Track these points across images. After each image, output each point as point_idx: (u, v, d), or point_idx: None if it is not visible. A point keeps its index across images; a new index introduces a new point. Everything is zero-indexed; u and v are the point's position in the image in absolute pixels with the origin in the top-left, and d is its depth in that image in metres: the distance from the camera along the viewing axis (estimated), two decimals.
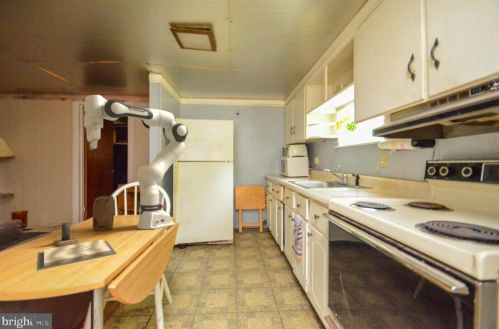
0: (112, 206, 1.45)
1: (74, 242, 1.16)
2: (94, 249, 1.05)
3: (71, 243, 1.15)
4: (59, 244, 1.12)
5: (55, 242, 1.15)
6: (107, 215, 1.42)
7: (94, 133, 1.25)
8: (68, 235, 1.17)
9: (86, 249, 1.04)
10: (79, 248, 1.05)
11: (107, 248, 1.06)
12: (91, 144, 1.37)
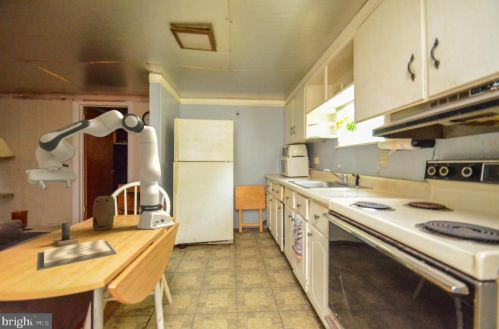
0: (112, 206, 1.45)
1: (74, 242, 1.16)
2: (94, 249, 1.05)
3: (71, 243, 1.15)
4: (59, 244, 1.12)
5: (55, 242, 1.15)
6: (107, 215, 1.42)
7: (28, 179, 1.19)
8: (68, 235, 1.17)
9: (86, 249, 1.04)
10: (79, 248, 1.05)
11: (107, 248, 1.06)
12: (67, 184, 1.30)
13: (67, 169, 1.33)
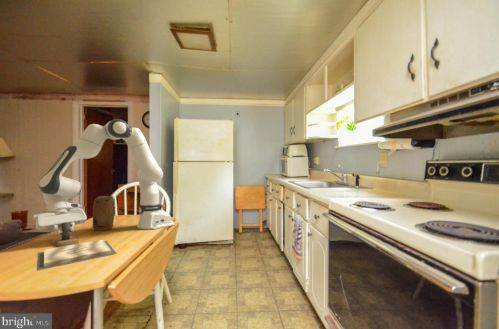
0: (112, 206, 1.45)
1: (74, 242, 1.16)
2: (94, 249, 1.05)
3: (71, 243, 1.15)
4: (59, 244, 1.12)
5: (55, 242, 1.15)
6: (107, 215, 1.42)
7: (36, 225, 1.12)
8: (68, 235, 1.17)
9: (86, 249, 1.04)
10: (79, 248, 1.05)
11: (107, 248, 1.06)
12: (71, 227, 1.20)
13: (76, 209, 1.25)
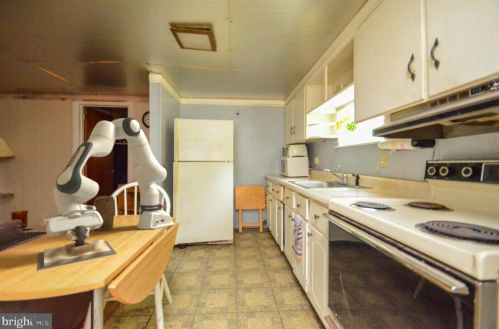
0: (112, 206, 1.45)
1: (90, 248, 1.01)
2: None
3: (87, 249, 1.00)
4: (74, 250, 0.98)
5: (68, 248, 1.00)
6: (107, 215, 1.42)
7: None
8: (83, 240, 1.02)
9: None
10: None
11: (107, 248, 1.06)
12: (86, 232, 1.05)
13: (91, 212, 1.10)
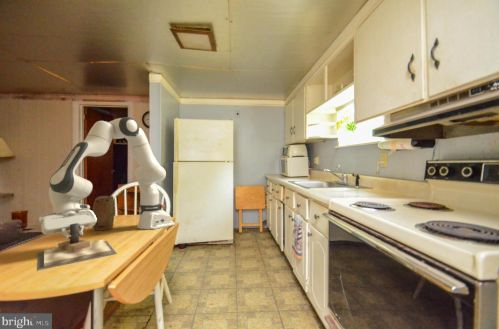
0: (112, 206, 1.45)
1: (86, 244, 1.06)
2: (94, 249, 1.05)
3: (83, 245, 1.04)
4: (70, 247, 1.01)
5: (62, 246, 1.03)
6: (107, 215, 1.42)
7: (41, 228, 1.00)
8: (78, 237, 1.06)
9: (86, 249, 1.04)
10: None
11: (107, 248, 1.06)
12: None
13: (85, 211, 1.14)
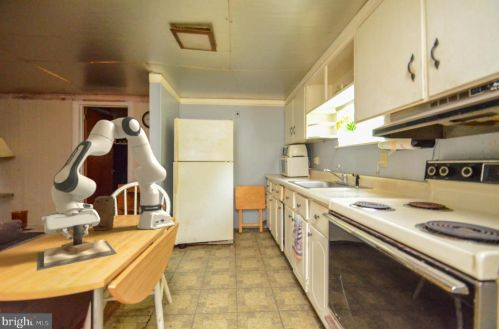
0: (112, 206, 1.45)
1: (90, 246, 1.04)
2: (94, 249, 1.05)
3: (87, 247, 1.03)
4: (74, 249, 0.99)
5: (66, 247, 1.01)
6: (107, 215, 1.42)
7: (44, 228, 0.99)
8: (81, 238, 1.04)
9: None
10: None
11: (107, 248, 1.06)
12: (85, 230, 1.08)
13: (88, 210, 1.12)
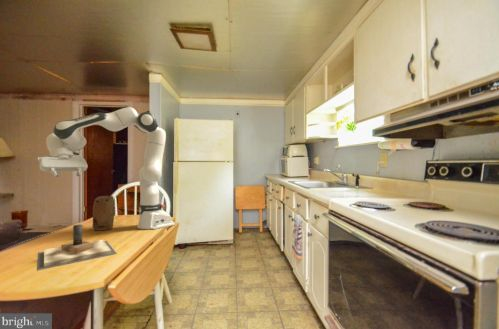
0: (112, 206, 1.45)
1: (90, 246, 1.04)
2: (94, 249, 1.05)
3: (87, 247, 1.03)
4: (74, 249, 0.99)
5: (66, 247, 1.01)
6: (107, 215, 1.42)
7: None
8: (81, 238, 1.04)
9: None
10: None
11: (107, 248, 1.06)
12: (78, 172, 1.29)
13: (77, 157, 1.32)
